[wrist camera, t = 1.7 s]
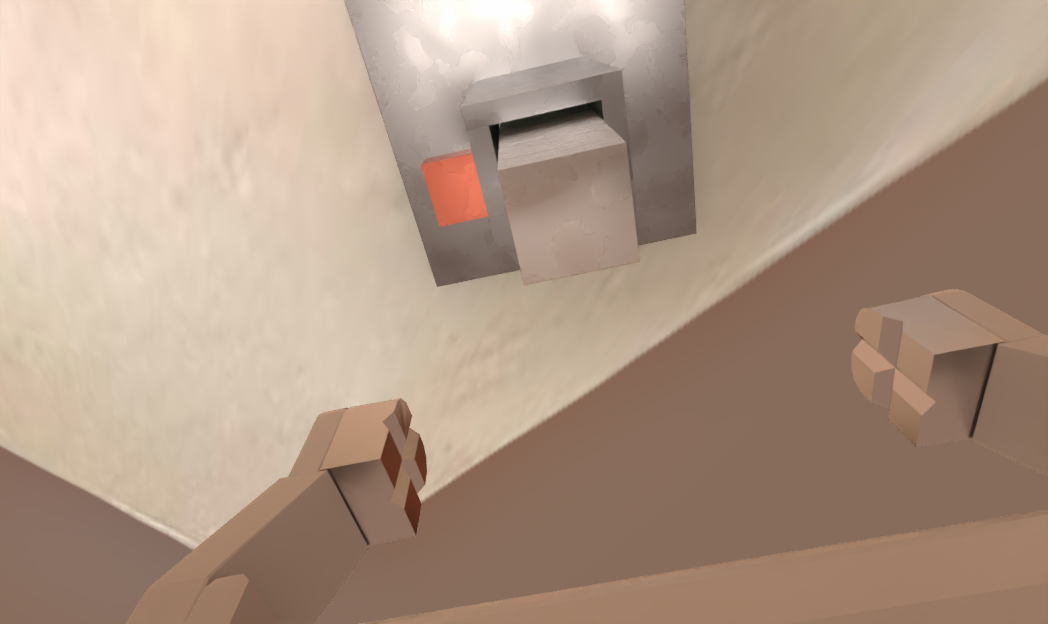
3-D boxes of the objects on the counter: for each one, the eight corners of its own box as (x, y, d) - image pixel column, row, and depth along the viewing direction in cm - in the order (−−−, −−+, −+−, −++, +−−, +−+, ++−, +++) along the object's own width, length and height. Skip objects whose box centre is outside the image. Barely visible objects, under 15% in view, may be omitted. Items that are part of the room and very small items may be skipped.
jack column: (568, 85, 32) (629, 138, 16) (579, 155, 34) (642, 263, 19) (499, 100, 33) (493, 168, 17) (514, 170, 35) (522, 288, 19)
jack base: (671, -91, 31) (782, -171, 18) (690, 226, 40) (771, 313, 28) (347, -10, 32) (249, -34, 20) (439, 278, 42) (411, 383, 29)
